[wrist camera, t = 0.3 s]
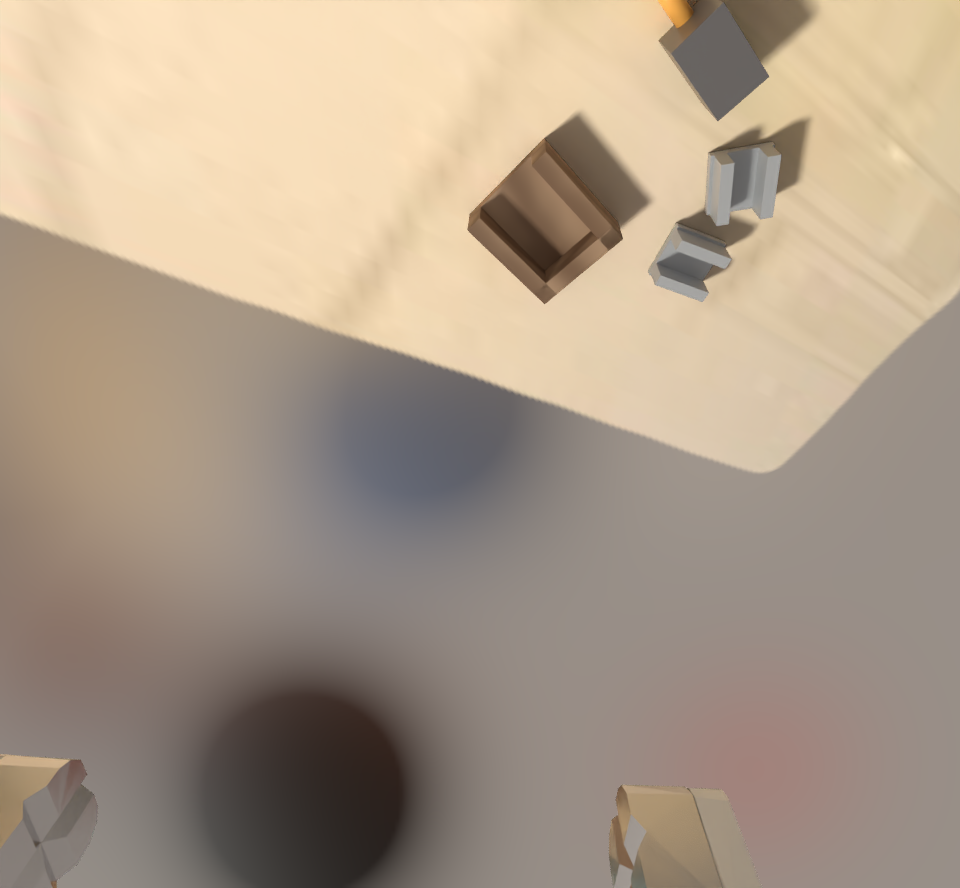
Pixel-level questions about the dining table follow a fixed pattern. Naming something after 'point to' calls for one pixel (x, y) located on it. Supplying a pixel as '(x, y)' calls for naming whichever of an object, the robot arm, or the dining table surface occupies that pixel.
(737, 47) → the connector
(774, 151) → the clip
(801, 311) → the dining table surface
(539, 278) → the holder
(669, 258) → the clip
